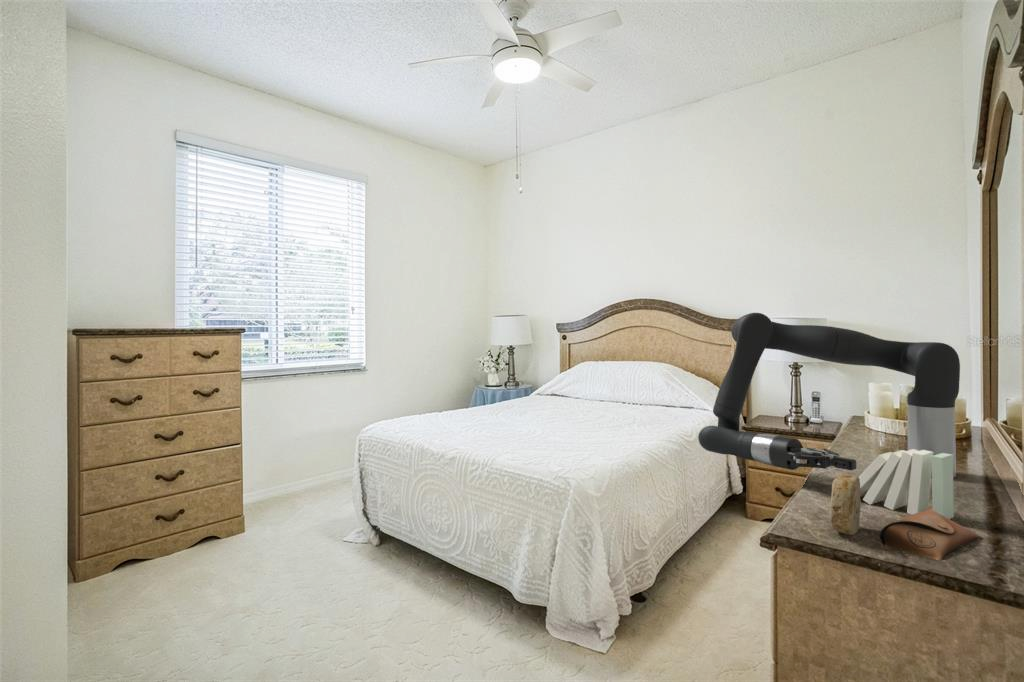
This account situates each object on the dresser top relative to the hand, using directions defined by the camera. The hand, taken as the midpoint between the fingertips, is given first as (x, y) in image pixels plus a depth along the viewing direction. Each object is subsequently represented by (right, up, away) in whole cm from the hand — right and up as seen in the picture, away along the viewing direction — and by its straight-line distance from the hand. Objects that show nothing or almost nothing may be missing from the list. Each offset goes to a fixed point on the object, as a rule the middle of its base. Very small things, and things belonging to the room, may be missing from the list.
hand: (854, 465), depth 106 cm
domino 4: (+6, -7, -9) cm, 13 cm away
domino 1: (0, -7, +1) cm, 7 cm away
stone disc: (-15, -7, -19) cm, 25 cm away
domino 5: (+8, -7, -13) cm, 17 cm away
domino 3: (+4, -7, -6) cm, 10 cm away
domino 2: (+2, -7, -3) cm, 7 cm away
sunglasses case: (-3, -8, -23) cm, 24 cm away
